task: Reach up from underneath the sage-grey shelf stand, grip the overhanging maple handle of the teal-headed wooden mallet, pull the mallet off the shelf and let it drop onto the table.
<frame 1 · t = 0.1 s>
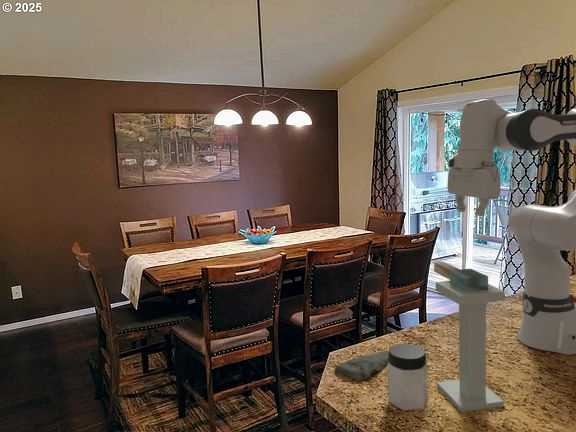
hand: (470, 213, 121), 39 cm above the countertop, tool pointing down, fingers open, 8 cm apart
stone: (370, 368, 120), on the countertop
shelf stand: (468, 396, 103), on the countertop
jar: (408, 401, 102), on the countertop
mallet: (460, 282, 103), point 26 cm above the countertop, touching shelf stand
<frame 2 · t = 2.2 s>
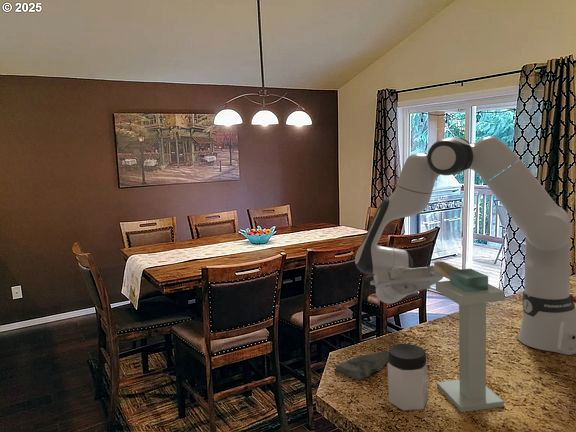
hand: (416, 269, 126), 23 cm above the countertop, tool pointing upward, fingers open, 8 cm apart
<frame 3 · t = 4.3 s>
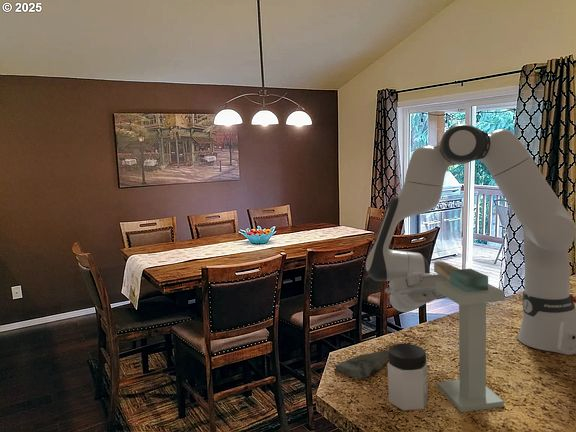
hand: (437, 275, 114), 25 cm above the countertop, tool pointing upward, fingers open, 8 cm apart
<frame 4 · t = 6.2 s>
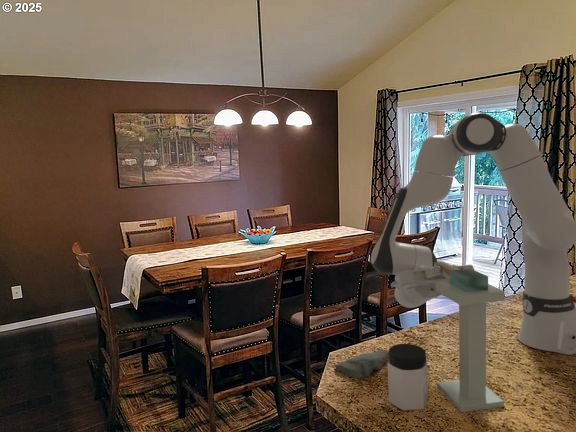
hand: (446, 268, 109), 28 cm above the countertop, tool pointing upward, fingers closed on mallet, 2 cm apart
mallet: (460, 282, 103), point 26 cm above the countertop, touching gripper, shelf stand
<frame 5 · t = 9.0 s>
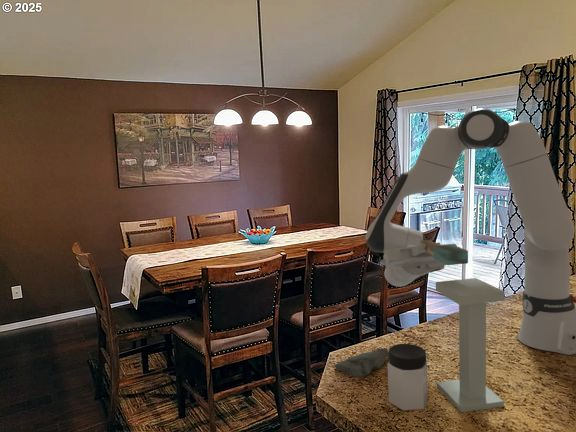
hand: (431, 246, 116), 32 cm above the countertop, tool pointing upward, fingers closed on mallet, 2 cm apart
mallet: (443, 257, 110), point 30 cm above the countertop, touching gripper
when the fingers open (19 cm above the countertop, at t = 11.9 s): mallet drops 18 cm, on the countertop.
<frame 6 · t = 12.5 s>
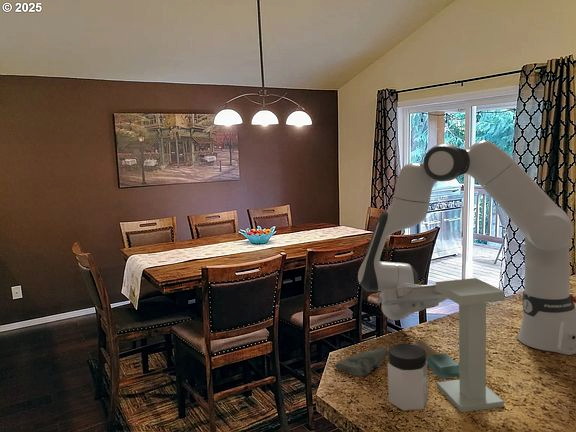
hand: (425, 287, 122), 19 cm above the countertop, tool pointing upward, fingers open, 8 cm apart
mallet: (436, 365, 119), on the countertop
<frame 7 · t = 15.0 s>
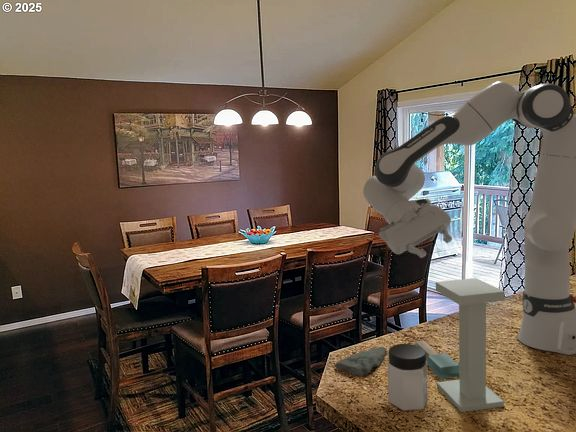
hand: (437, 248, 123), 29 cm above the countertop, tool tilted 55°, fingers open, 8 cm apart
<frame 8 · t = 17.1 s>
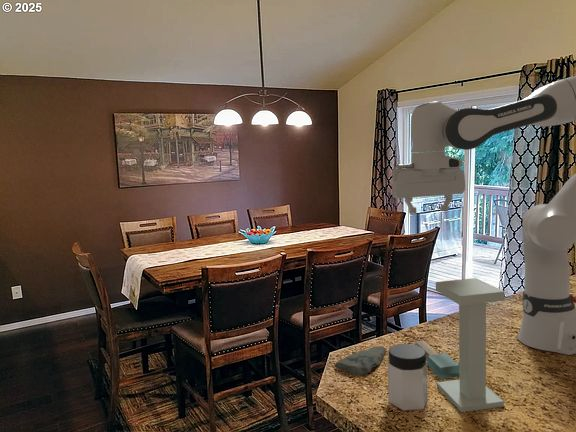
hand: (428, 212, 125), 39 cm above the countertop, tool pointing down, fingers open, 8 cm apart
at the end: mallet on the countertop; mallet touching countertop; the gripper is holding nothing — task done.
